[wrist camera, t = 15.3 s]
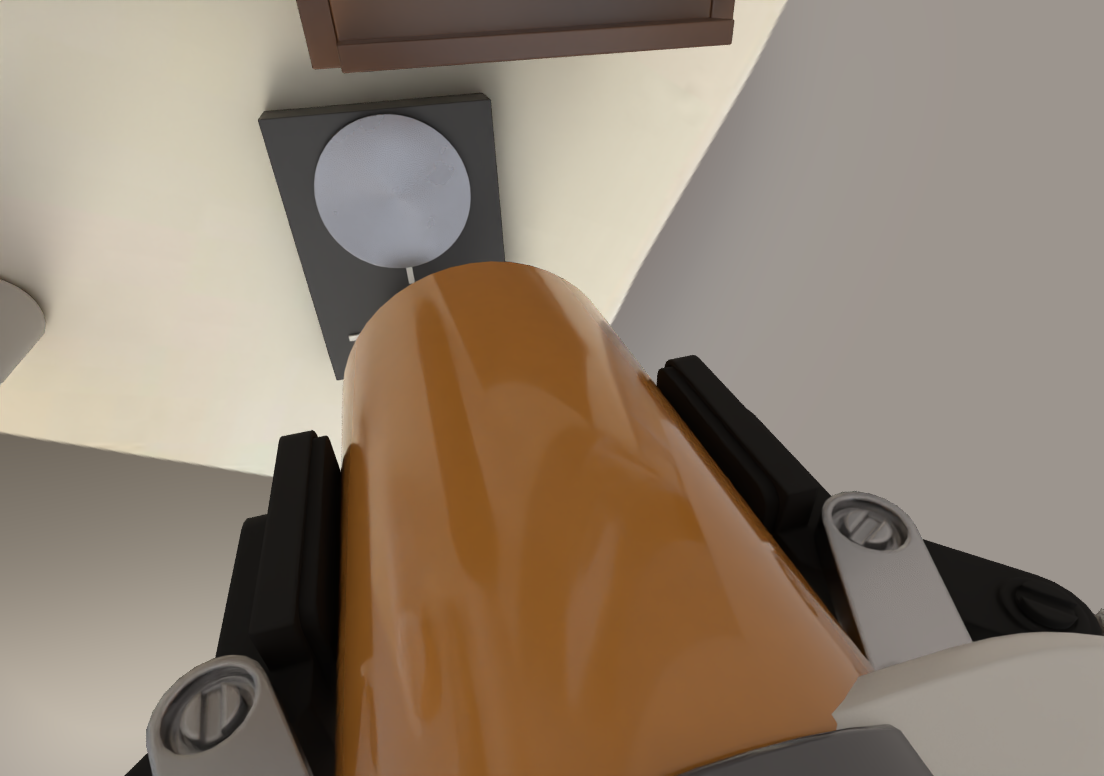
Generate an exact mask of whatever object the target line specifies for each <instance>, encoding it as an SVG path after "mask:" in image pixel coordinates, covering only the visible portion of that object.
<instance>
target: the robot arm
mask: <svg viewBox="0 0 1104 776" xmlns="http://www.w3.org/2000/svg"><path fill="white" fill-rule="evenodd" d="M657 387H658V388H659V390H660V391H661V392H662V393H663V395H664V396H665V397H666V399H667V400H668V401H669V403H670V404H671V405H672V407H673V408H674V409H675V410H676V412H677V413H678V414H679V416H680V417H681V418H682V420H683V421H684V422H685V423H686V425H687V426H688V427H689V429H690V430H691V431H692V433H693V434H694V435H695V436H696V438H697V439H698V440H699V442H700V443H701V444H702V446H703V447H704V448H705V449H706V451H707V452H708V453H709V455H710V456H711V457H712V459H713V460H714V461H715V462H716V464H717V465H718V466H719V468H720V469H721V470H722V472H723V473H724V474H725V475H726V477H727V478H728V479H729V481H730V482H731V483H732V485H733V486H734V487H735V488H736V490H737V491H738V492H739V494H740V495H741V496H742V498H743V499H744V500H745V501H746V503H747V504H748V505H749V507H750V508H751V509H752V511H753V512H754V513H755V514H756V516H757V517H758V518H759V520H760V521H761V522H762V524H763V525H764V526H765V527H766V529H767V530H768V531H769V533H770V534H771V535H772V537H773V538H774V539H775V540H776V542H777V543H778V544H779V546H780V547H781V548H782V550H783V551H784V552H785V553H786V555H787V556H788V557H789V559H790V560H791V561H792V563H793V564H794V565H795V566H796V568H797V569H798V570H799V572H800V573H801V574H802V576H803V577H804V578H805V579H806V581H807V582H808V583H809V585H810V586H811V587H812V589H813V590H814V591H815V592H816V594H817V595H818V596H819V598H820V599H821V600H822V602H823V603H824V604H825V605H826V607H827V608H828V609H829V611H830V612H831V613H832V615H833V616H834V617H835V618H836V620H837V621H838V622H839V624H840V625H841V626H842V628H843V629H844V630H845V631H846V633H847V634H848V635H849V637H850V638H851V639H852V641H853V642H854V643H855V644H856V646H857V647H858V648H859V650H860V651H861V652H862V654H863V655H864V656H865V657H866V659H867V660H868V661H869V663H870V664H871V665H872V667H873V668H874V669H875V670H876V671H874V672H871V673H868V674H865V675H862V676H859V677H858V678H857V681H856V682H855V684H854V685H853V687H852V688H851V689H850V691H849V692H848V694H847V696H846V698H845V699H844V700H843V701H842V703H841V704H840V705H839V706H838V707H837V708H836V710H835V711H834V712H833V713H832V716H833V718H834V719H835V721H836V722H837V729H836V730H839V729H845V728H852V727H862V726H872V725H882V724H890V725H892V726H894V727H895V728H897V729H899V730H901V732H902V733H903V734H904V736H905V737H906V738H907V740H908V741H909V743H910V744H911V745H912V747H913V748H914V749H915V751H916V752H917V754H918V755H919V756H920V758H921V759H922V761H923V762H924V763H925V765H926V766H927V767H928V769H929V770H930V772H931V773H932V774H933V776H1104V609H1101V610H1100V611H1099V612H1098V613H1097V614H1096V615H1095V614H1093V613H1092V612H1091V610H1090V609H1089V608H1088V607H1087V605H1086V604H1085V603H1084V602H1082V601H1081V600H1080V599H1079V598H1078V597H1076V596H1075V595H1074V594H1073V593H1072V592H1070V591H1068V590H1067V589H1065V588H1063V587H1062V586H1060V585H1058V584H1057V583H1055V582H1052V581H1050V580H1048V579H1045V578H1043V577H1040V576H1038V575H1035V574H1032V573H1028V572H1025V571H1022V570H1019V569H1016V568H1013V567H1009V566H1006V565H1003V564H1000V563H997V562H994V561H990V560H987V559H984V558H981V557H978V556H975V555H971V554H968V553H965V552H962V551H959V550H955V549H952V548H949V547H946V546H943V545H940V544H936V543H933V542H930V541H927V540H924V539H922V537H921V535H920V533H919V531H918V529H917V527H916V525H915V524H914V523H913V521H912V520H911V518H910V517H909V516H908V515H907V514H906V513H905V512H904V511H903V510H902V509H900V508H899V507H898V506H897V505H895V504H893V503H891V502H890V501H888V500H886V499H884V498H881V497H879V496H876V495H873V494H870V493H864V492H857V491H852V492H841V493H839V494H835V495H833V496H831V495H830V494H829V493H828V492H827V491H826V490H825V489H824V488H823V487H822V486H821V485H820V484H819V483H818V482H817V480H816V479H814V477H813V476H812V475H811V474H810V473H809V472H808V471H807V470H806V469H805V468H804V467H803V466H802V465H801V464H800V462H799V461H798V460H797V459H796V458H795V457H794V456H793V455H792V454H791V453H790V452H789V451H788V450H787V449H786V448H785V447H784V446H783V444H782V443H781V442H780V441H779V440H778V439H777V438H776V437H775V436H774V435H773V434H772V433H771V432H770V431H769V430H768V429H767V428H766V426H765V425H764V424H763V423H762V422H761V421H760V420H759V419H758V418H757V417H756V416H755V415H754V414H753V413H752V412H750V411H749V410H747V409H746V408H745V407H744V405H742V403H741V402H739V400H738V399H737V398H736V397H735V396H734V395H733V394H732V393H731V392H730V391H729V389H728V388H726V386H725V385H724V384H723V383H722V382H721V381H720V380H719V379H718V378H717V377H716V376H715V375H714V373H712V371H711V370H710V369H709V368H708V367H707V366H706V365H705V364H704V363H703V362H702V361H701V360H700V359H699V358H698V357H697V356H695V355H690V356H685V357H680V358H675V359H670V360H668V361H667V362H666V364H665V367H664V368H661V369H659V371H658V375H657ZM340 493H341V471H340V468H339V465H338V462H337V459H336V457H335V454H334V451H333V448H332V445H331V442H330V440H329V438H328V436H322V437H317V434H316V433H315V431H313V430H312V431H307V432H301V433H296V434H291V435H286V436H282V437H280V440H279V444H278V451H277V457H276V463H275V469H274V476H273V482H272V488H271V495H270V501H269V507H268V514H265V515H261V516H257V517H252V518H247V519H246V521H245V522H244V523H243V526H242V529H241V534H240V539H239V544H238V549H237V554H236V559H235V564H234V569H233V574H232V578H231V583H230V588H229V593H228V598H227V603H226V608H225V613H224V618H223V623H222V628H221V633H220V638H219V642H218V647H217V652H216V657H215V658H213V659H211V660H209V661H207V662H205V663H202V664H200V665H198V666H196V667H194V668H193V669H192V670H190V671H189V672H187V673H186V674H185V675H183V676H182V677H181V678H179V679H178V680H177V681H176V682H175V683H174V684H173V685H172V686H171V688H169V690H167V691H166V693H165V694H164V695H163V696H162V698H161V699H160V701H159V703H158V704H157V706H156V707H155V709H154V710H153V712H152V715H151V718H150V721H149V723H148V726H147V729H146V747H147V752H148V753H147V754H146V755H145V756H144V757H143V758H142V759H141V760H140V761H139V762H138V763H137V764H136V765H135V766H134V767H133V768H132V769H131V770H130V771H129V772H128V773H127V774H126V775H125V776H334V770H335V724H336V678H337V631H338V585H339V539H340Z"/></svg>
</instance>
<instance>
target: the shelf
mask: <svg viewBox="0 0 1104 776" xmlns="http://www.w3.org/2000/svg"><path fill="white" fill-rule="evenodd" d="M296 1H297V6H298V10H299V14H300V18H301V22H302V26H303V30H304V35H305V39H306V43H307V47H308V51H309V55H310V59H311V64H312V68H313V69H328V68H341V69H342V72H343V73H354V72H368V71H381V70H395V69H408V68H421V67H435V66H448V65H462V64H475V63H489V62H502V61H516V60H529V59H543V58H556V57H570V56H583V55H596V54H610V53H623V52H637V51H650V50H664V49H677V48H691V47H704V46H718V45H730V44H731V43H732V35H733V27H734V20H733V12H734V4H735V0H296Z"/></svg>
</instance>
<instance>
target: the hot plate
mask: <svg viewBox="0 0 1104 776" xmlns="http://www.w3.org/2000/svg"><path fill="white" fill-rule="evenodd" d="M378 113H394V114H402V115H406V116H410V117H413V118H416V119H418V120H421V121H423V122H425V123H426V124H428V125H430V126H432V127H433V128H435V129H436V130H437V131H439V132H440V133H441V134H442V135H443V136H444V137H445V138H446V139H447V140H448V141H449V142H450V143H451V144H452V145H453V147H454V148H455V149H456V151H457V152H458V154H459V156H460V157H461V159H462V161H463V163H464V165H465V168H466V171H467V174H468V177H469V182H470V187H471V205H470V211H469V216H468V219H467V222H466V225H465V227H464V229H463V231H462V233H461V234H460V236H459V237H458V239H457V240H456V241H455V243H454V244H453V245H452V246H451V247H450V248H449V249H448V250H447V251H445V252H444V253H443V254H442V255H440V256H439V257H437V258H436V259H434V260H432V261H429V262H427V263H425V264H422V265H419V266H414V267H409V268H387V267H381V266H377V265H374V264H370V263H368V262H366V261H363V260H361V259H359V258H357V257H356V256H354V255H352V254H351V253H349V252H348V251H347V250H345V249H344V248H343V247H342V246H341V245H340V244H339V243H338V242H337V241H336V240H335V239H334V238H333V237H332V235H331V234H330V233H329V231H328V230H327V228H326V227H325V225H324V223H323V221H322V219H321V217H320V215H319V212H318V209H317V206H316V201H315V196H314V174H315V170H316V165H317V162H318V159H319V157H320V154H321V152H322V150H323V149H324V147H325V145H326V144H327V142H328V141H329V140H330V139H331V137H332V136H333V135H334V134H335V133H336V132H337V131H338V130H339V129H341V128H342V127H344V126H345V125H347V124H348V123H350V122H352V121H354V120H356V119H358V118H361V117H364V116H367V115H372V114H378ZM258 122H259V126H260V129H261V132H262V136H263V139H264V142H265V145H266V149H267V152H268V155H269V159H270V162H271V165H272V169H273V172H274V175H275V178H276V182H277V185H278V188H279V192H280V195H281V198H282V201H283V205H284V208H285V211H286V215H287V218H288V221H289V225H290V228H291V231H292V234H293V238H294V241H295V244H296V248H297V251H298V254H299V258H300V261H301V264H302V267H303V271H304V274H305V277H306V281H307V284H308V287H309V291H310V294H311V297H312V300H313V304H314V307H315V310H316V314H317V317H318V320H319V324H320V327H321V330H322V333H323V337H324V340H325V343H326V347H327V350H328V353H329V357H330V360H331V363H332V366H333V370H334V373H335V376H336V380H342V379H344V372H345V368H346V365H347V361H348V358H349V354H350V352H351V350H352V348H353V345H354V343H355V341H356V339H357V337H358V336H359V334H360V333H361V331H362V330H363V328H364V326H365V325H366V323H367V322H368V321H369V320H370V319H371V318H372V316H373V315H374V314H375V313H376V312H377V311H378V310H379V308H380V307H382V306H383V305H384V304H385V303H386V302H387V301H389V300H390V299H391V298H392V297H393V296H394V295H396V294H397V293H399V292H400V291H402V290H403V289H405V288H406V287H408V286H409V285H411V284H412V283H414V282H416V281H418V280H420V279H422V278H424V277H426V276H428V275H430V274H433V273H436V272H439V271H442V270H445V269H448V268H451V267H455V266H460V265H464V264H469V263H479V262H490V261H492V262H505V255H504V244H503V232H502V221H501V210H500V199H499V187H498V176H497V165H496V154H495V142H494V131H493V120H492V109H491V100H490V99H489V98H488V97H487V96H485V95H484V94H483V93H475V94H464V95H452V96H440V97H428V98H416V99H405V100H393V101H381V102H369V103H358V104H346V105H334V106H322V107H310V108H299V109H287V110H275V111H264V112H263V114H262V115H261V116H260V118H259V119H258Z"/></svg>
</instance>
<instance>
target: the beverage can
mask: <svg viewBox="0 0 1104 776" xmlns="http://www.w3.org/2000/svg"><path fill="white" fill-rule="evenodd" d="M45 325H46V322H45V318H44V314H43V312H42V310H41V309H40V307H39V305H38V304H37V303H36V302H35V301H34V300H33V299H32V298H31V297H30V296H29V294H27V293H26V292H24V291H23V290H21V289H20V288H18V287H17V286H15V285H12V284H10V283H8V282H6V281H4V280H0V385H1V384H2V383H3V382H4V380H5V379H6V378H7V377H8V376H9V374H10V373H11V372H12V371H13V370H14V368H15V367H16V366H17V365H18V364H19V362H20V361H21V360H22V359H23V358H24V357H25V356H26V354H27V353H28V352H29V351H30V350H31V349H32V348H33V346H34V345H35V344H36V343H37V342H38V341H39V339H40V338H41V337H42V335H43V334H44V332H45Z"/></svg>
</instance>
